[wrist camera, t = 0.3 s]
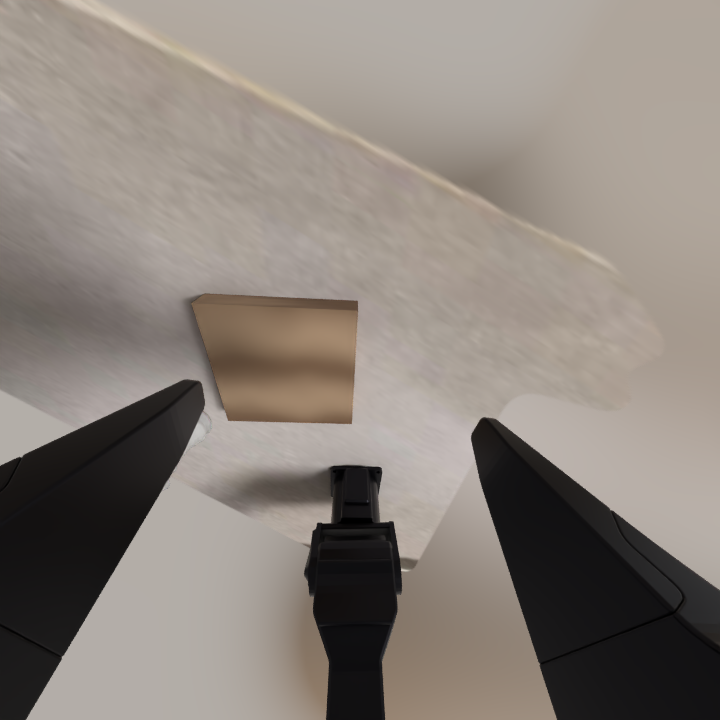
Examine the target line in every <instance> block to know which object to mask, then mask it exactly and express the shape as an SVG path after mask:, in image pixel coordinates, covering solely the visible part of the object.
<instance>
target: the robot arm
mask: <svg viewBox="0 0 720 720" xmlns="http://www.w3.org/2000/svg"><path fill="white" fill-rule="evenodd" d="M204 406H205V399H204V393H203V388H202V384H201V382H199V381H196V380H188V379H187V380H182V381H180V382H178V383H176V384H174V385H172V386H170V387H167V388H165V389H163V390H161V391H159V392H157V393H155V394H152V395H150V396H148V397H146V398H144V399H142V400H140V401H138V402H135V403H133V404H131V405H129V406H127V407H125V408H123V409H120V410H118V411H116V412H114V413H112V414H110V415H108V416H106V417H103V418H101V419H99V420H97V421H95V422H93V423H91V424H88V425H86V426H84V427H82V428H80V429H78V430H76V431H73V432H71V433H69V434H67V435H65V436H63V437H61V438H59V439H57V440H54V441H52V442H50V443H48V444H46V445H44V446H41V447H39V448H37V449H35V450H33V451H31V452H29V453H27V454H25V455H23V457H22V458H21V457H18V458H16V459H14V460H11V461H9V462H7V463H5V464H3V465H1V466H0V720H26V719H27V717H28V715H29V714H30V712H31V710H32V708H33V707H34V705H35V703H36V702H37V700H38V698H39V697H40V695H41V693H42V692H43V690H44V688H45V687H46V685H47V683H48V682H49V680H50V678H51V677H52V675H53V673H54V671H55V670H56V668H57V666H58V665H59V663H60V661H61V659H62V656H63V655H64V654H65V652H66V651H67V649H68V647H69V646H70V644H71V642H72V641H73V639H74V637H75V636H76V634H77V632H78V631H79V629H80V627H81V626H82V624H83V622H84V621H85V619H86V617H87V615H88V614H89V612H90V610H91V609H92V607H93V605H94V604H95V602H96V600H97V599H98V597H99V595H100V594H101V592H102V590H103V588H104V587H105V585H106V583H107V582H108V580H109V578H110V576H111V575H112V573H113V572H114V570H115V568H116V567H117V565H118V563H119V561H120V560H121V558H122V557H123V555H124V553H125V551H126V550H127V548H128V546H129V544H130V543H131V541H132V540H133V538H134V536H135V535H136V533H137V531H138V530H139V528H140V526H141V525H142V523H143V521H144V519H145V518H146V516H147V515H148V513H149V511H150V509H151V508H152V506H153V504H154V503H155V501H156V499H157V498H158V496H159V494H160V493H161V491H162V489H163V488H164V486H165V484H166V483H167V481H168V479H169V478H170V476H171V474H172V472H173V471H174V469H175V467H176V466H177V464H178V462H179V461H180V459H181V457H182V455H183V453H184V451H185V449H186V447H187V445H188V443H189V440H190V438H191V436H192V434H193V432H194V429H195V427H196V425H197V423H198V421H199V418H200V416H201V414H202V412H203V409H204ZM471 442H472V446H473V451H474V455H475V460H476V465H477V469H478V474H479V478H480V482H481V485H482V489H483V492H484V495H485V498H486V502H487V504H488V508H489V511H490V514H491V517H492V520H493V523H494V526H495V529H496V532H497V535H498V538H499V542H500V545H501V547H502V551H503V554H504V557H505V560H506V563H507V566H508V569H509V572H510V575H511V578H512V581H513V585H514V588H515V591H516V594H517V597H518V600H519V603H520V606H521V609H522V612H523V615H524V618H525V621H526V625H527V628H528V631H529V634H530V637H531V640H532V643H533V646H534V649H535V652H536V655H537V659H538V662H539V663H540V668H541V671H542V675H543V678H544V681H545V684H546V687H547V690H548V693H549V696H550V699H551V702H552V705H553V708H554V711H555V714H556V718H557V720H720V590H719V589H717V588H716V587H714V586H713V585H712V584H710V583H709V582H708V581H706V580H705V579H703V578H702V577H701V576H699V575H698V574H696V573H695V572H694V571H692V570H691V569H690V568H688V567H687V566H685V565H684V564H683V563H681V562H680V561H679V560H677V559H676V558H674V557H673V556H672V555H670V554H669V553H668V552H666V551H665V550H663V549H662V548H661V547H659V546H658V545H657V544H655V543H654V542H653V541H651V540H650V539H649V538H647V537H646V536H645V535H643V534H642V533H641V532H640V531H638V530H637V529H635V528H634V527H633V526H632V525H630V524H629V523H628V522H626V521H625V520H624V519H623V518H621V517H620V516H619V515H617V514H616V513H615V512H614V511H612V510H610V509H609V507H607V506H606V505H605V504H604V503H602V502H601V501H599V500H598V499H597V498H596V497H595V496H593V495H592V494H591V493H589V492H588V491H587V490H586V489H584V488H583V487H582V486H580V485H579V484H578V483H577V482H575V481H574V480H573V479H572V478H570V477H569V476H568V475H566V474H565V473H564V472H563V471H561V470H560V469H559V468H557V467H556V466H555V465H554V464H552V463H551V462H550V461H549V460H547V459H546V458H545V457H543V456H542V455H541V454H540V453H538V452H537V451H536V450H535V449H533V448H532V447H531V446H529V445H528V444H527V443H526V442H524V441H523V440H522V439H521V438H519V437H518V436H517V435H515V434H514V433H513V432H512V431H510V430H509V429H508V428H506V427H505V426H504V425H503V424H501V423H500V422H499V421H498V420H496V419H494V418H486V417H484V418H482V419H480V421H479V422H478V424H477V426H476V427H475V429H474V431H473V433H472V435H471ZM381 477H382V468H380V467H349V466H333V467H331V497H333V503H332V517H331V523H326V524H322V523H317V527H316V529H315V530H313V533H312V541H311V548H310V552H309V556H308V559H307V563H306V567H305V571H304V576H305V577H306V579H307V580H308V586H309V595H310V597H314V603H313V614H314V618H315V620H316V624H317V626H318V630H319V633H320V636H321V638H322V641H323V644H324V648H325V651H326V654H327V657H328V659H329V676H328V695H327V715H326V720H385V711H384V692H383V675H382V660H383V657H384V654H385V651H386V648H387V645H388V641H389V638H390V635H391V632H392V629H393V626H394V622H395V618H396V615H397V596H396V595H401V592H402V578H401V566H400V558H399V552H398V546H397V540H396V534H395V528H394V522H393V521H389V522H381V523H380V515H379V501H378V494H379V488H380V482H381Z"/></svg>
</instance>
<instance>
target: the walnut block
mask: <svg viewBox="0 0 720 720" xmlns="http://www.w3.org/2000/svg"><path fill="white" fill-rule="evenodd" d="M191 304H192V307H193V310H194V313H195V317H196V320H197V323H198V326H199V329H200V332H201V336H202V339H203V342H204V345H205V348H206V351H207V355H208V358H209V361H210V364H211V367H212V371H213V374H214V377H215V380H216V383H217V386H218V390H219V393H220V396H221V399H222V402H223V405H224V409H225V412H226V415H227V418H228V421H258V422H297V423H336V424H352V410H353V392H354V373H355V355H356V337H357V319H358V301H349V300H328V299H307V298H286V297H265V296H244V295H223V294H203V295H202V296H201V297H199V298H198V299H196V300H195V301H194V302H192V303H191Z"/></svg>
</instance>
